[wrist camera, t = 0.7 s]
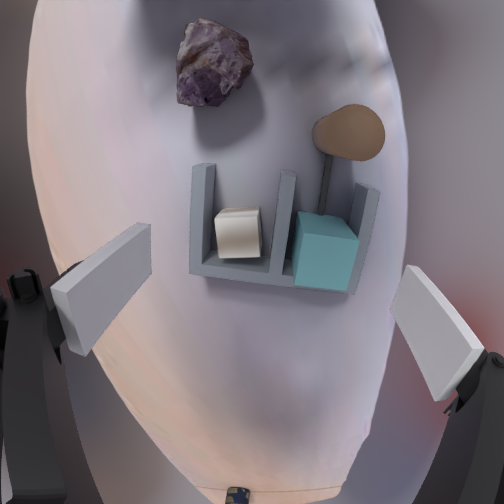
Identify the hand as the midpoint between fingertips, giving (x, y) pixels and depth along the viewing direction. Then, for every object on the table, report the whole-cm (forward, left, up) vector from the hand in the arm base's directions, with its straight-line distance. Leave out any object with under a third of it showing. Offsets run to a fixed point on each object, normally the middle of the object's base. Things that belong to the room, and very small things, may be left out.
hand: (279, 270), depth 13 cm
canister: (+118, +3, -24) cm, 120 cm away
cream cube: (+6, -4, -23) cm, 24 cm away
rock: (-15, -9, -24) cm, 30 cm away
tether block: (-1, +6, -23) cm, 24 cm away
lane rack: (+4, +1, -23) cm, 24 cm away
